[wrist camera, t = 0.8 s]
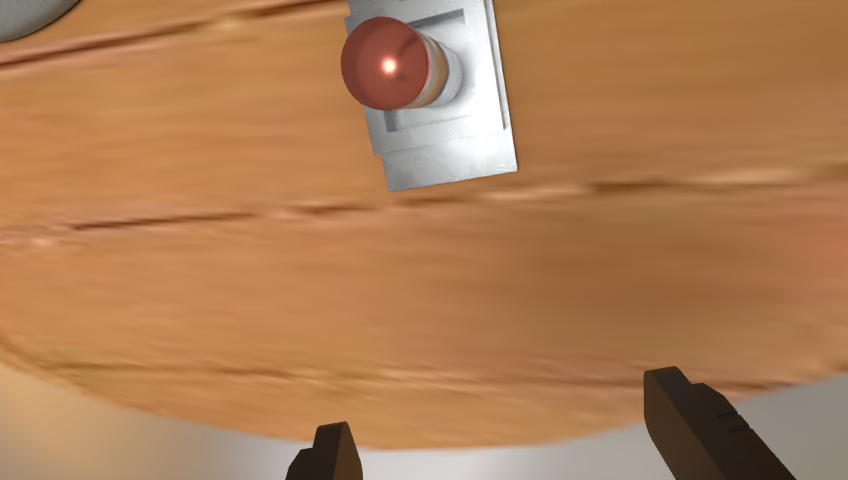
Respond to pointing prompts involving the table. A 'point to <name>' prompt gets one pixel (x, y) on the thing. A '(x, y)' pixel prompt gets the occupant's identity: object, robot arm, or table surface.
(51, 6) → the frisbee
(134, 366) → the table surface
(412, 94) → the pin
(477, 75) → the hitch
